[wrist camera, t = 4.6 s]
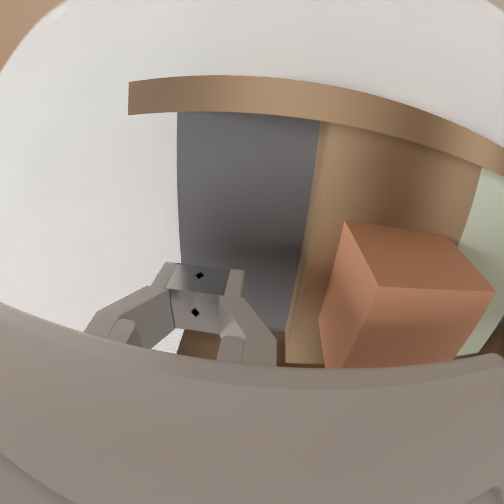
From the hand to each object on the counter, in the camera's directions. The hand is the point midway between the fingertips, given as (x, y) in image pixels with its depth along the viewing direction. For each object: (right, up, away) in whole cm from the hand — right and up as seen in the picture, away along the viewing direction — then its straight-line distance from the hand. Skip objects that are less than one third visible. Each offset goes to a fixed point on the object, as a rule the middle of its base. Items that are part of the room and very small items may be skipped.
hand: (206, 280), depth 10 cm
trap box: (+12, +1, +3) cm, 13 cm away
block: (+7, 0, +1) cm, 7 cm away
